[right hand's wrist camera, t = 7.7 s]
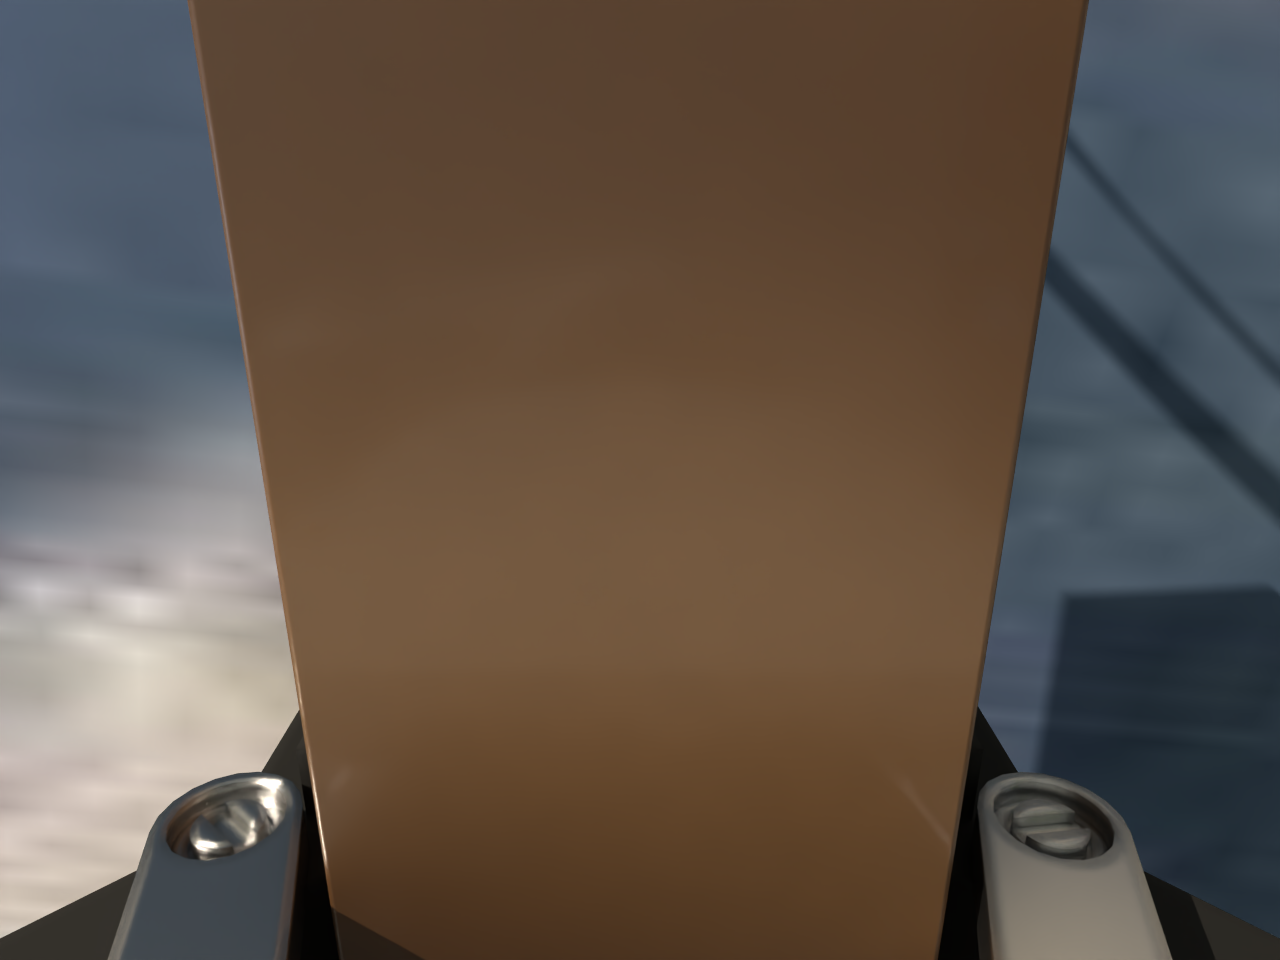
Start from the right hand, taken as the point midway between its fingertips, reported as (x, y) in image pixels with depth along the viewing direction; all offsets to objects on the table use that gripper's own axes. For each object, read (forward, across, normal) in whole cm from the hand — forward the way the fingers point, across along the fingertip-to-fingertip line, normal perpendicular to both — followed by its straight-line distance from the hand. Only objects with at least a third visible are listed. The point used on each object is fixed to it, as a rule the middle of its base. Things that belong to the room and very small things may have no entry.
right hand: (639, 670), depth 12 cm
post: (+3, 0, -31) cm, 31 cm away
